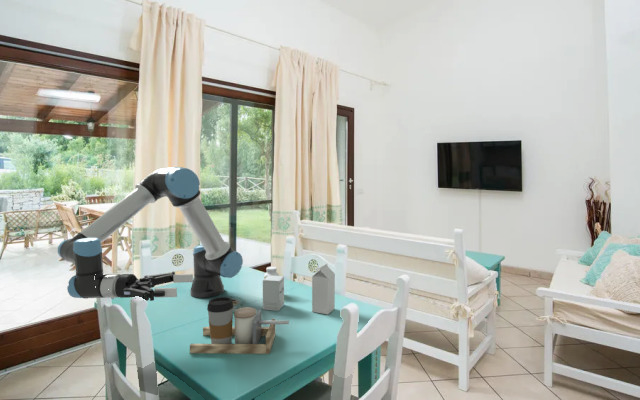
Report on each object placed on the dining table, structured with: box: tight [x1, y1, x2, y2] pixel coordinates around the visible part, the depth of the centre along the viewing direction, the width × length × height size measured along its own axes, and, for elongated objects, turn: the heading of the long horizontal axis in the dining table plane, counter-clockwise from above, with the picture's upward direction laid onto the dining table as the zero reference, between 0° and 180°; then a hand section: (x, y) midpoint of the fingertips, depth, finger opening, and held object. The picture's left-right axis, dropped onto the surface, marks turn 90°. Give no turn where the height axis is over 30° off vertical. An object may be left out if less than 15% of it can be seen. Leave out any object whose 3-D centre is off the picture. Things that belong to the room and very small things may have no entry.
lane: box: [189, 318, 276, 355], centre depth 117 cm, size 25×13×6 cm, turn 90°
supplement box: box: [262, 275, 285, 312], centre depth 148 cm, size 7×7×13 cm
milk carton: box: [311, 263, 336, 315], centre depth 144 cm, size 7×7×19 cm
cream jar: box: [233, 306, 258, 344], centre depth 117 cm, size 7×7×11 cm
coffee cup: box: [206, 296, 234, 344], centre depth 115 cm, size 8×8×15 cm
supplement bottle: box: [263, 266, 280, 280], centre depth 163 cm, size 7×7×13 cm
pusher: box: [253, 309, 290, 344], centre depth 116 cm, size 11×10×9 cm
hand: (185, 284), depth 114 cm, fingers open, 13 cm apart
